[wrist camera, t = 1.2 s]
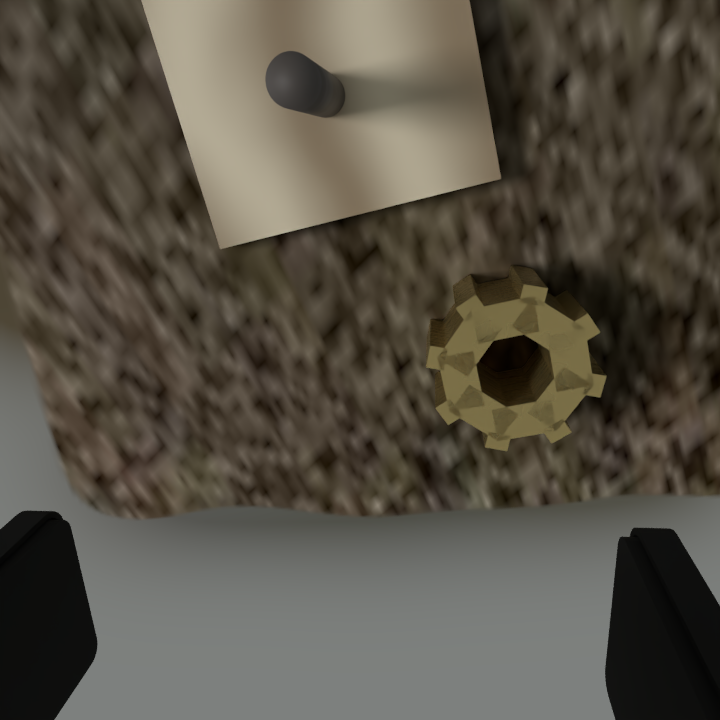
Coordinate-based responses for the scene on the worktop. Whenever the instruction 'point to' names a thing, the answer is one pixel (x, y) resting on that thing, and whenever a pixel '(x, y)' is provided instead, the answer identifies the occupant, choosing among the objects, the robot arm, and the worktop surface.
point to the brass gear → (522, 385)
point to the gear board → (314, 157)
